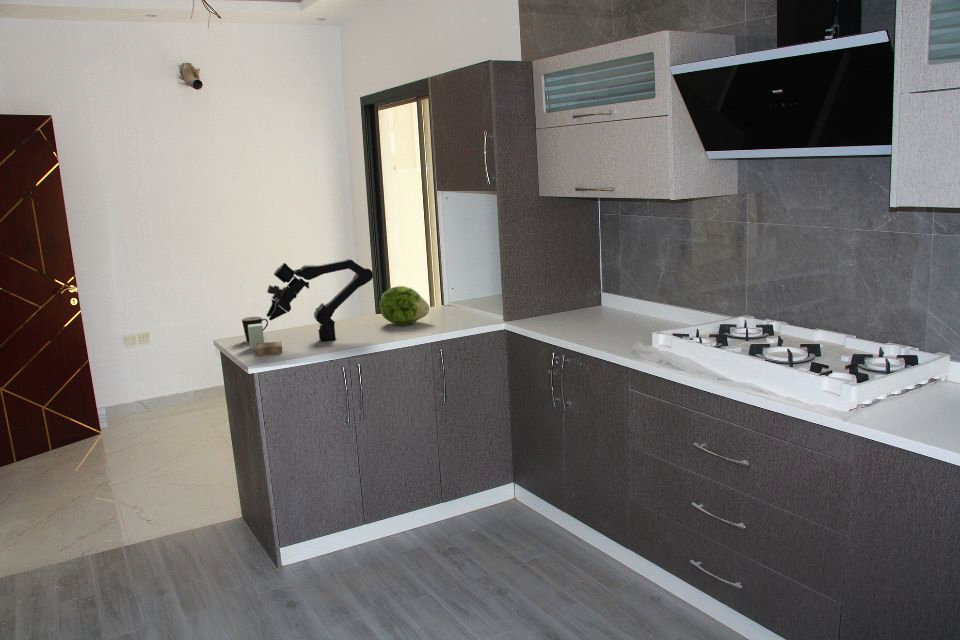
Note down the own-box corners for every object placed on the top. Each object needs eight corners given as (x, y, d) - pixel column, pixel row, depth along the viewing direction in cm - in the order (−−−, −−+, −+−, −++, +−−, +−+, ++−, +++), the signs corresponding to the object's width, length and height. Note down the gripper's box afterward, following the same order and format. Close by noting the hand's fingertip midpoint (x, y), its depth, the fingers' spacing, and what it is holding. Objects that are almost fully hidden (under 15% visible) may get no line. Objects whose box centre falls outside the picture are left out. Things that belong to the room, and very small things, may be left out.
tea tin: (263, 346, 342) (260, 323, 340) (264, 348, 337) (262, 325, 335) (250, 347, 340) (247, 324, 338) (251, 350, 335) (248, 327, 333)
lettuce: (424, 329, 364) (428, 289, 363) (374, 323, 366) (378, 284, 365) (431, 326, 383) (435, 288, 382) (383, 321, 385) (387, 283, 384)
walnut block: (281, 349, 336) (281, 341, 336) (282, 354, 327) (281, 345, 326) (257, 351, 334) (256, 343, 333) (257, 356, 324) (256, 348, 324)
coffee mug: (245, 343, 349) (243, 321, 347) (242, 340, 356) (240, 318, 354) (272, 340, 353) (270, 318, 351) (269, 336, 361) (267, 315, 359)
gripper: (274, 275, 345) (251, 303, 344) (280, 280, 328) (255, 309, 327) (294, 291, 350) (271, 318, 348) (301, 297, 333) (276, 326, 331)
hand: (268, 318), depth 338 cm, fingers open, 9 cm apart
